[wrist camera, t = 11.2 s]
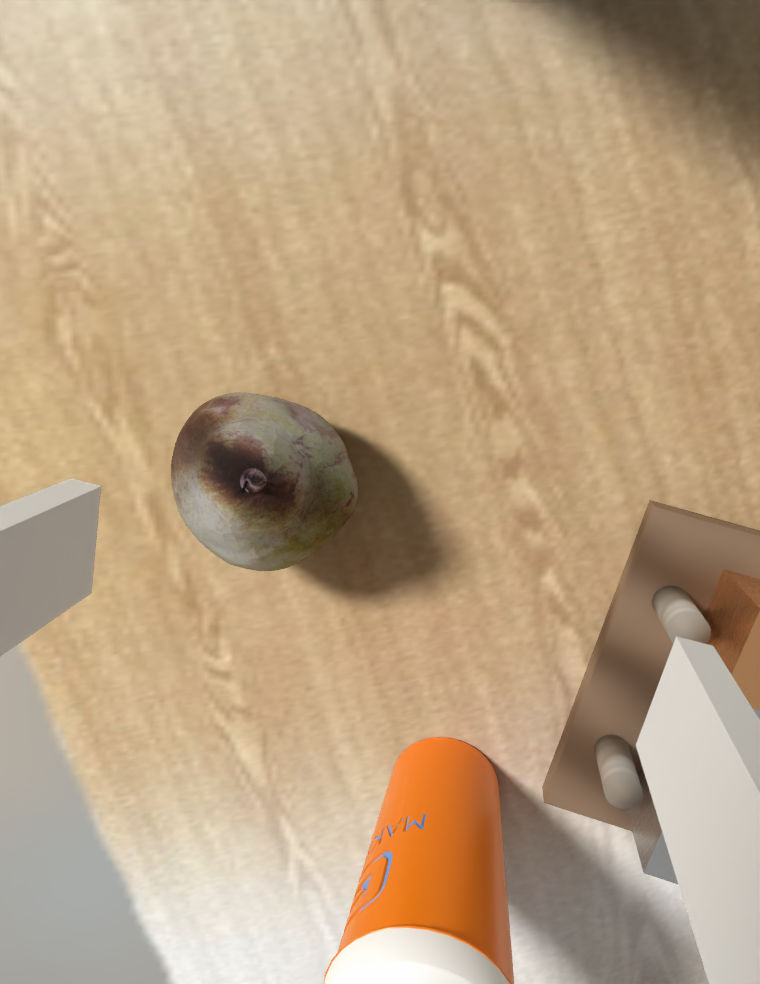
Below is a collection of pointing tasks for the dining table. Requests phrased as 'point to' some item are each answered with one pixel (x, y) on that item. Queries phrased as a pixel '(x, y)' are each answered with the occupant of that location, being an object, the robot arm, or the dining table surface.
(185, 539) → the dining table surface
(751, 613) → the bar
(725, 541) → the peg rack
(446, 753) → the shaker bottle
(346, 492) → the fruit
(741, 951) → the robot arm
